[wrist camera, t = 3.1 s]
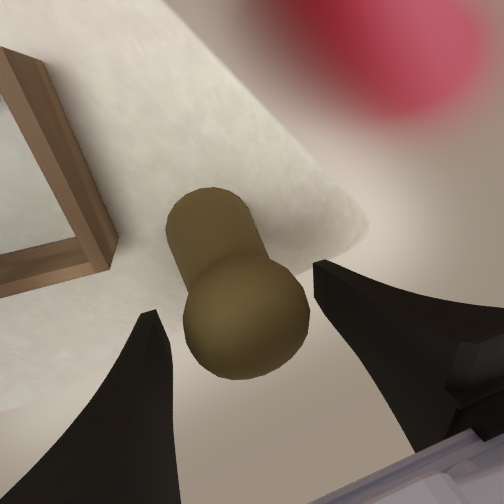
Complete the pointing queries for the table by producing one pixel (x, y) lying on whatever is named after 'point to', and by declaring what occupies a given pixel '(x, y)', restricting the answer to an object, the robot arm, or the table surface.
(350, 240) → the table surface
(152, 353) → the robot arm
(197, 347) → the olive game pawn
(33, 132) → the walnut stand
